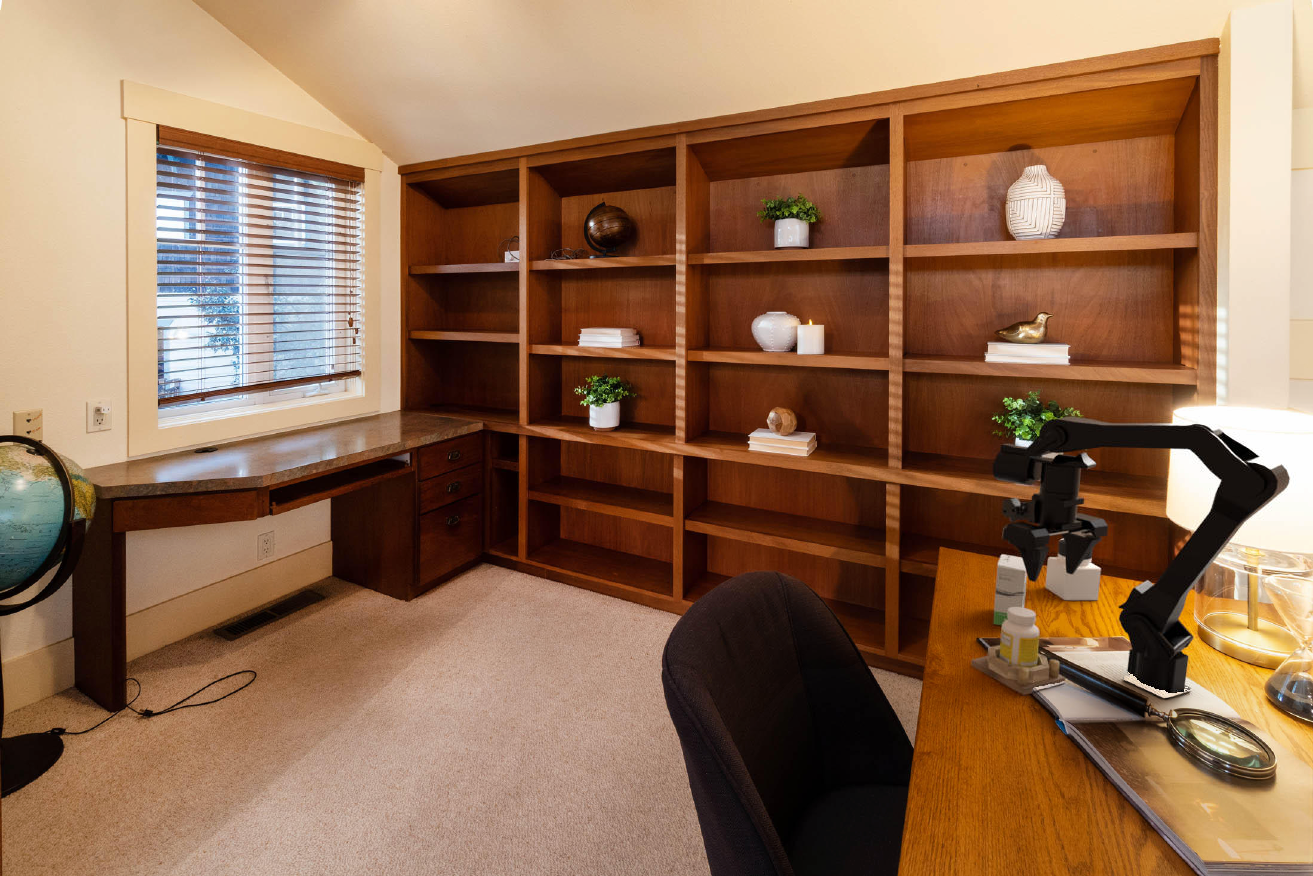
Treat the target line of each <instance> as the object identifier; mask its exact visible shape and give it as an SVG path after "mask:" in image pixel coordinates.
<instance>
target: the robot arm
mask: <svg viewBox="0 0 1313 876" xmlns="http://www.w3.org/2000/svg"><path fill="white" fill-rule="evenodd" d="M1100 448H1129V449H1131V448H1132V449H1164V450H1166V449H1167V450H1168V449H1170V450H1171V449H1173V450H1190V451H1191V452H1192V453H1193V454H1194V455H1195V456H1196V457H1197V458H1198V459H1199V460H1200V461H1201V462H1202V464H1203V465H1204V466H1205V467H1206V468H1207V469H1208V470H1209V471H1210V472H1211V474H1213V475H1214V476H1215V477H1217V478H1218V479H1219V480H1220V483H1219V485H1218V487H1217V490H1216V492H1215V494H1214V498H1213V501H1212V505H1211V508H1210V511H1209V512H1208V513H1207V515H1206V516H1205V517H1204V519H1203V520H1202V521H1201V523H1200V524H1199V525H1198V527H1197V528H1196V529H1195V530H1194V532H1193V533H1192V535H1191V536H1190V537H1189V539H1188V540H1187V541H1186V543H1185V544H1184V545H1183V546H1182V548H1181V549H1180V551H1179V552H1178V553H1177V554H1176V556H1175V557H1174V558H1173V559H1172V561H1171V562H1170V563H1169V565H1168V566H1167V568H1166V569H1165V570H1164V571H1163V573H1162V574H1161V575H1160V576H1159V578H1158V579H1157V581H1156V582H1155V583H1154V584H1153V583H1152V582H1151V581H1149V580H1148V579H1147V580H1144V582H1142V583H1140V584H1138V585H1136V586H1135V587H1133V588H1132V589H1131V591H1130V593H1129V595H1128V598H1127V599H1126V601H1125V602H1124V603H1122V604H1120V605H1119V606H1118V609H1121V611H1120V614H1119V617H1118V621H1119V622H1120V626H1121V628H1122V629H1123V631H1124V632H1125V633H1126V634H1127V635H1128V639H1129V642H1130V645H1131V649H1129V651H1128V652H1129V653H1128V660H1127V669H1126V670H1127V671H1128V672H1129V673H1130V674H1133V676H1135V677H1136V678H1137V680H1139V681H1140V682H1141V683H1143V684H1146V685H1148V686H1151V687H1154V688H1155V689H1159V690H1165V691H1166V692H1168V693H1177V692H1184V689H1187V690H1190V689H1192V688H1191V687H1190V686H1187V685H1186V678H1187V671H1188V663H1189V655H1187V654H1185V653H1184V652H1183V650H1184V649H1185V648H1188V647H1189V646H1190V644H1191V642H1193V640H1194V636H1193V634H1192V633H1191V631H1189V629H1188V628H1187V627H1186V626H1185V625H1184V624H1183V623H1182V622H1181V621H1180V619H1179V618H1180V616H1181V614H1182V612H1183V611H1184V607H1185V605H1186V601H1187V597H1188V595H1189V592H1190V591H1191V590H1192V589H1193V588H1194V586H1195V585H1196V584H1197V582H1198V581H1199V580H1200V579H1201V577H1202V576H1203V575H1204V574H1205V572H1206V571H1207V570H1208V568H1209V567H1210V566H1211V565H1212V564H1213V563H1214V561H1215V560H1216V559H1217V557H1218V556H1219V555H1220V553H1221V552H1222V551H1223V550H1224V549H1225V547H1226V546H1227V545H1228V543H1229V542H1230V541H1231V540H1232V539H1233V537H1234V536H1235V535H1236V534H1237V532H1238V531H1239V529H1240V528H1241V527H1242V526H1243V525H1244V523H1245V522H1247V521H1248V520H1249V519H1250V518H1252V517H1253V516H1254V515H1255V514H1257V513H1258V512H1259V511H1260V510H1262V509H1263V508H1265V506H1268V504H1270V503H1271V501H1273V500H1274V499H1276V498H1277V497H1278V496H1279V495H1280V494H1281V493H1282V492H1284V491H1285V490H1286V489H1287V487H1288V485H1289V484H1290V480H1291V478H1290V476H1289V475H1290V474H1289V473H1288V470H1287V469H1286V467H1285V466H1284V465H1283V464H1282V463H1281V462H1279V461H1277V460H1275V459H1271V458H1269V457H1262V456H1261V455H1260V454H1258V452H1256V451H1255V450H1253V449H1252V448H1250V447H1249V446H1247V445H1245V444H1244V443H1242V442H1241V441H1239V440H1237V439H1235V438H1234V437H1232V436H1231V435H1229V434H1228V433H1226V432H1225V431H1224V430H1223V429H1222V428H1220V427H1219V425H1218V424H1215V423H1213V422H1209V421H1200V422H1196V423H1193V422H1191V423H1182V422H1180V423H1178V422H1177V423H1170V422H1169V423H1155V422H1154V423H1153V422H1152V423H1146V422H1145V423H1142V422H1141V423H1140V422H1139V423H1138V422H1137V423H1136V422H1135V423H1134V422H1133V423H1132V422H1131V423H1130V422H1129V423H1125V422H1124V423H1112V422H1106V421H1101V420H1096V419H1091V418H1085V417H1079V416H1078V417H1077V416H1066V417H1060V418H1054V419H1050V420H1046V421H1045V423H1043V425H1042V426H1041V427H1040V429H1039V434H1038V437H1036V438H1035V439H1034V440H1033V441H1032V442H1031V444H1030V445H1029V446H1021V445H1016V444H1012V443H1002V444H1001V445H1000V450H999V452H998V453H997V454H996V456H995V459H994V461H993V463H992V474H993V477H994V479H995V480H998V481H1003V482H1008V483H1014V484H1021V485H1025V486H1032V485H1033V484H1034V483H1036V482H1038V481H1040V482H1039V492H1037V493H1033V495H1032V496H1031V500H1030V501H1025V502H1021V501H1020V499H1018V498H1017V497H1015V498H1008V499H1003V501H1002V506H1001V507H1002V508H1001V509H1002V515H1003V516H1004V517H1005V518H1009V521H1010V522H1011V523H1007V524H1005V526H1003V527H1002V536H1001V538H1002V540H1004V541H1007V542H1008V544H1010V545H1012V546H1014V547H1015V548H1016V549H1017V550H1018V552H1019V554H1020V557H1021V558H1022V559H1023V562H1024V565H1025V569H1026V572H1027V578H1028V580H1029V581H1030V582H1032V583H1034V582H1035V583H1036V582H1037V580H1038V578H1039V576H1040V574H1041V571H1042V568H1043V566H1044V564H1045V560H1046V557H1047V556H1048V553H1049V550H1050V547H1049V546H1048V544H1049V543H1050V537H1052V536H1054V537H1055V536H1059V535H1061V537H1062V539H1064V540H1065V542H1066V572H1067V573H1068V574H1074V572H1075V571H1076V570H1077V568H1078V567H1079V565H1080V564H1081V563H1082V561H1083V560H1084V559H1085V557H1086V556H1087V555H1088V553H1089V552H1090V551H1091V550H1092V549H1094V547H1095V546H1096V545H1097V544H1098V543H1099V542H1101V541H1102V537H1107V536H1108V529H1109V528H1108V527H1109V525H1108V523H1106V521H1105V520H1104V519H1103V518H1100V517H1096V516H1093V515H1089V514H1084V513H1081V512H1078V506H1080V505H1084V504H1085V498H1084V497H1080V496H1079V494H1080V481H1081V470H1082V469H1083V470H1088V469H1091V468H1094V467H1096V466H1097V463H1096V462H1095V461H1094V460H1093V459H1092V458H1091V457H1089V456H1088V454H1087V452H1080V453H1078V454H1077V455H1070V454H1069V455H1068V454H1063V453H1071V452H1077V451H1084V450H1091V449H1092V450H1093V449H1100ZM1053 453H1054V454H1057V455H1055V456H1054V458H1053V457H1045V456H1046V455H1050V454H1053ZM1020 520H1021V521H1020ZM1024 520H1027V522H1025V521H1024ZM1016 521H1017V522H1016ZM1035 524H1037V525H1035ZM1092 551H1093V550H1092ZM1127 671H1126V672H1127ZM1128 672H1127V673H1128ZM1130 674H1129V675H1130ZM1185 687H1188V688H1185ZM1187 690H1185V691H1187Z"/></svg>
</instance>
